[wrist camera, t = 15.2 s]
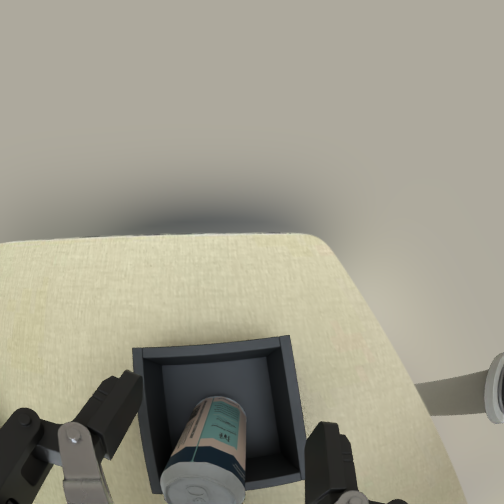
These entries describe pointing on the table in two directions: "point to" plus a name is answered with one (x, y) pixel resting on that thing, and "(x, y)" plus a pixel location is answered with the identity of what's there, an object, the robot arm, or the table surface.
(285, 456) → the bin
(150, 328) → the table surface
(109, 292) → the table surface
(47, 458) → the robot arm
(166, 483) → the beer can
